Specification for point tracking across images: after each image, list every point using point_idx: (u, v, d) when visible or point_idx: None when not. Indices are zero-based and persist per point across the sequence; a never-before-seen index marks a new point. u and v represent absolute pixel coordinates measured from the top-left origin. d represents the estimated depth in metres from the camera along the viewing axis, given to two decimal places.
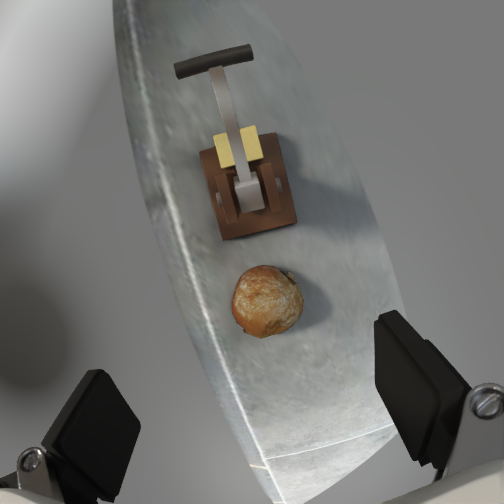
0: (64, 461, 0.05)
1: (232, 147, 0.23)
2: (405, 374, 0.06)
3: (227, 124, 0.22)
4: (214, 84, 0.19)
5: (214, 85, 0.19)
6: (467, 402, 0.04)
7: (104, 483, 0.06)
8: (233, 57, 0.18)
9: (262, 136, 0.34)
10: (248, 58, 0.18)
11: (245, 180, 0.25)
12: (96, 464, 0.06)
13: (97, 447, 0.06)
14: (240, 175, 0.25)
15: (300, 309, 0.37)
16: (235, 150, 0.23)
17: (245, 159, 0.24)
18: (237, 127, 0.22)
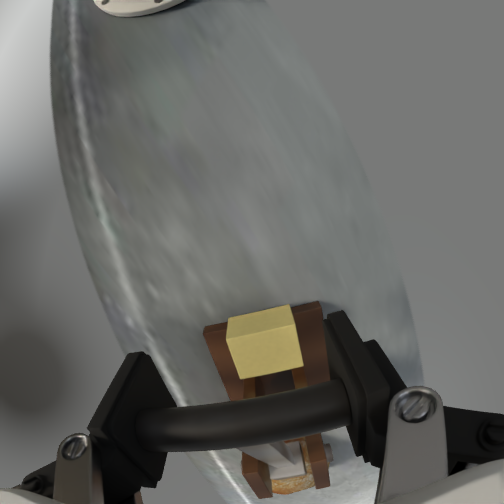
0: (112, 445, 0.06)
1: (271, 464, 0.12)
2: (341, 371, 0.07)
3: (266, 460, 0.10)
4: (244, 450, 0.08)
5: (244, 451, 0.08)
6: (393, 403, 0.05)
7: (149, 467, 0.06)
8: (298, 436, 0.06)
9: (300, 314, 0.23)
10: None
11: (285, 467, 0.14)
12: (142, 447, 0.06)
13: None
14: (279, 467, 0.13)
15: None
16: (274, 464, 0.12)
17: (289, 463, 0.12)
18: (283, 458, 0.11)
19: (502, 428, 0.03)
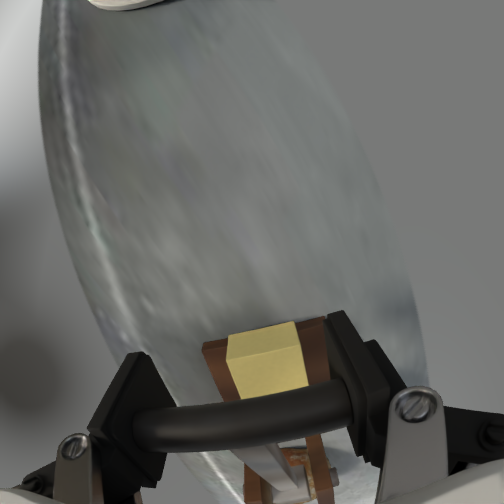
0: (111, 445, 0.06)
1: (273, 483, 0.10)
2: (342, 371, 0.07)
3: (267, 476, 0.09)
4: (243, 458, 0.07)
5: (243, 459, 0.07)
6: (393, 403, 0.05)
7: (148, 467, 0.06)
8: (297, 437, 0.06)
9: (305, 330, 0.21)
10: None
11: (288, 490, 0.12)
12: None
13: None
14: (282, 490, 0.12)
15: None
16: (277, 484, 0.11)
17: (292, 484, 0.11)
18: (285, 475, 0.10)
19: (502, 428, 0.03)
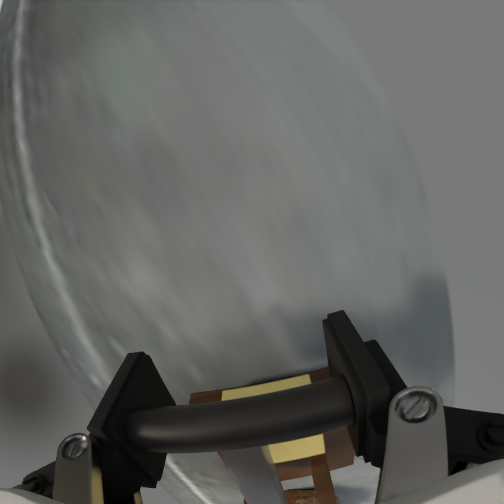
0: (111, 445, 0.06)
1: None
2: (342, 371, 0.07)
3: None
4: (239, 480, 0.06)
5: (239, 482, 0.06)
6: (393, 403, 0.05)
7: (148, 467, 0.06)
8: (295, 433, 0.06)
9: None
10: (339, 428, 0.06)
11: None
12: None
13: None
14: None
15: None
16: None
17: None
18: None
19: (502, 428, 0.03)
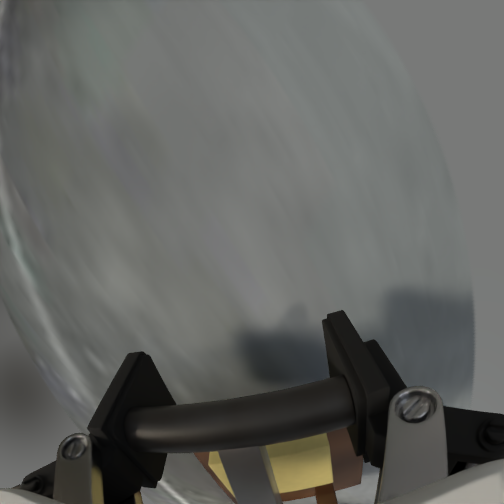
0: (112, 445, 0.06)
1: None
2: (341, 371, 0.07)
3: None
4: (235, 487, 0.06)
5: (235, 489, 0.06)
6: (393, 403, 0.05)
7: (149, 467, 0.06)
8: (294, 429, 0.06)
9: None
10: (340, 427, 0.06)
11: None
12: None
13: None
14: None
15: None
16: None
17: None
18: None
19: (502, 428, 0.03)
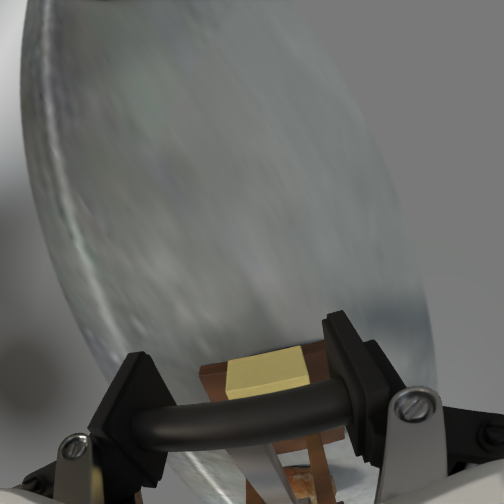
0: (112, 445, 0.06)
1: None
2: (341, 371, 0.07)
3: (269, 498, 0.08)
4: (242, 467, 0.07)
5: (242, 469, 0.07)
6: (392, 403, 0.05)
7: (149, 467, 0.06)
8: (297, 435, 0.06)
9: (313, 355, 0.19)
10: None
11: None
12: None
13: None
14: None
15: None
16: None
17: None
18: (288, 499, 0.08)
19: (502, 428, 0.03)
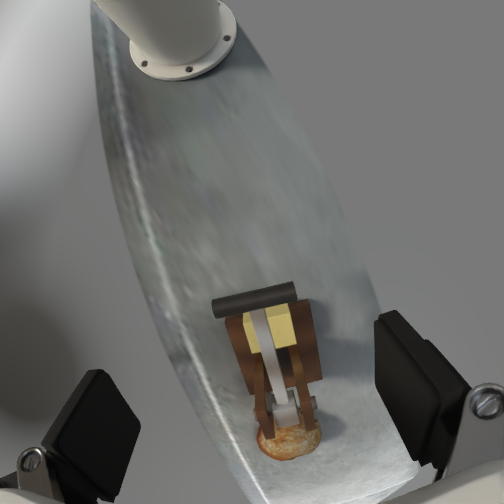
0: (64, 461, 0.05)
1: (271, 380, 0.23)
2: (405, 374, 0.06)
3: (267, 362, 0.22)
4: (255, 327, 0.21)
5: (255, 328, 0.21)
6: (467, 402, 0.04)
7: (104, 483, 0.06)
8: (276, 301, 0.20)
9: (294, 307, 0.32)
10: (291, 300, 0.20)
11: (282, 403, 0.23)
12: (96, 464, 0.06)
13: (97, 447, 0.06)
14: (278, 400, 0.23)
15: (318, 443, 0.35)
16: (274, 382, 0.23)
17: (283, 388, 0.23)
18: (277, 364, 0.22)
19: None
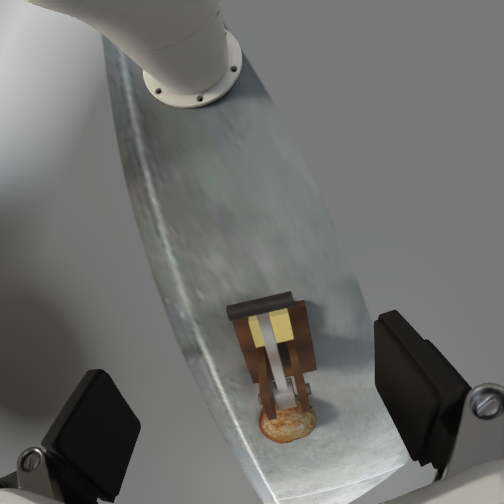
0: (64, 461, 0.05)
1: (273, 369, 0.28)
2: (405, 374, 0.06)
3: (270, 355, 0.27)
4: (261, 327, 0.26)
5: (261, 328, 0.26)
6: (467, 402, 0.04)
7: (104, 483, 0.06)
8: (277, 307, 0.25)
9: (292, 308, 0.38)
10: (290, 306, 0.26)
11: (282, 389, 0.29)
12: (96, 464, 0.06)
13: (97, 447, 0.06)
14: (278, 386, 0.29)
15: (313, 427, 0.41)
16: (275, 371, 0.28)
17: (283, 376, 0.28)
18: (278, 356, 0.28)
19: None
